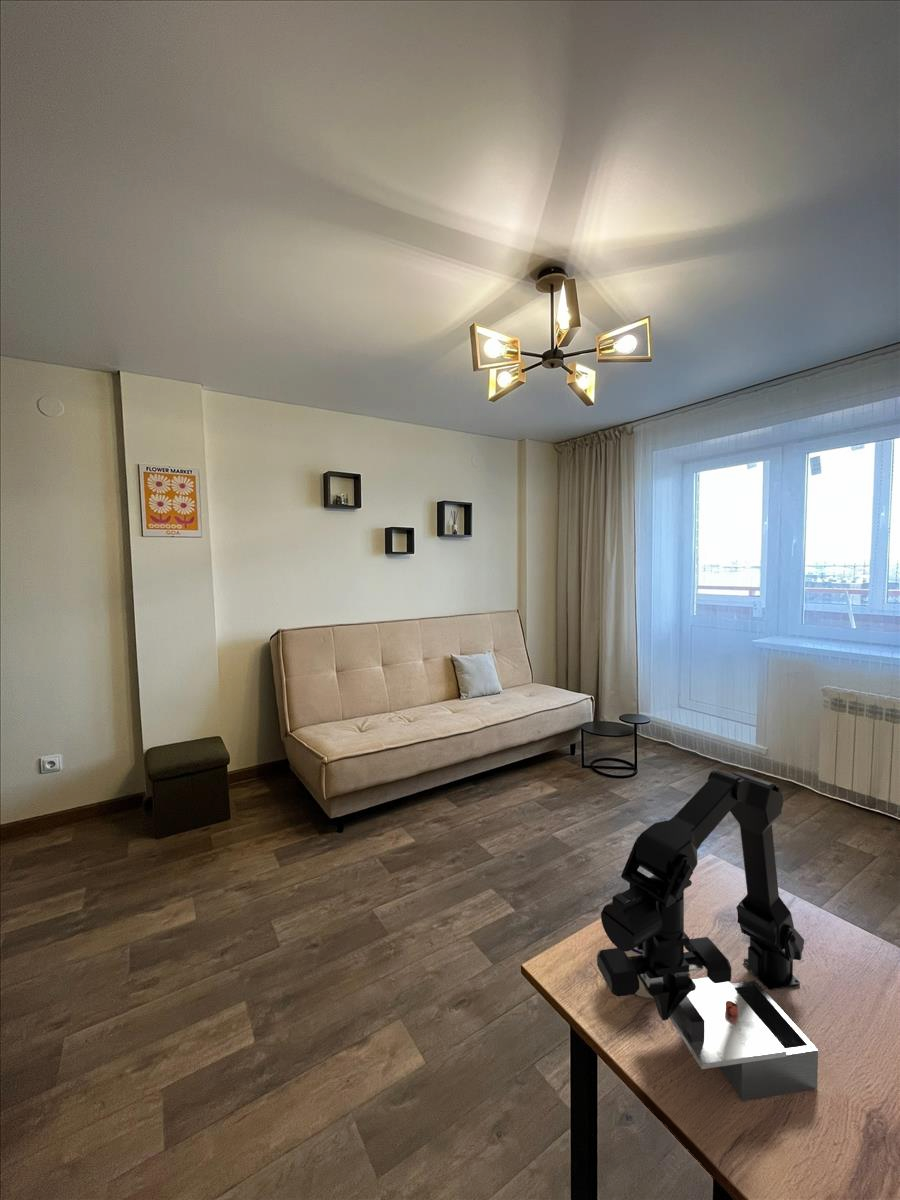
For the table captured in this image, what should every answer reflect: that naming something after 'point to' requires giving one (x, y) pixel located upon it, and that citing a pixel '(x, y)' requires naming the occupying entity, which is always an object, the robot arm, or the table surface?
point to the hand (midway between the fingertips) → (663, 1017)
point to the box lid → (722, 1027)
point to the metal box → (778, 1072)
